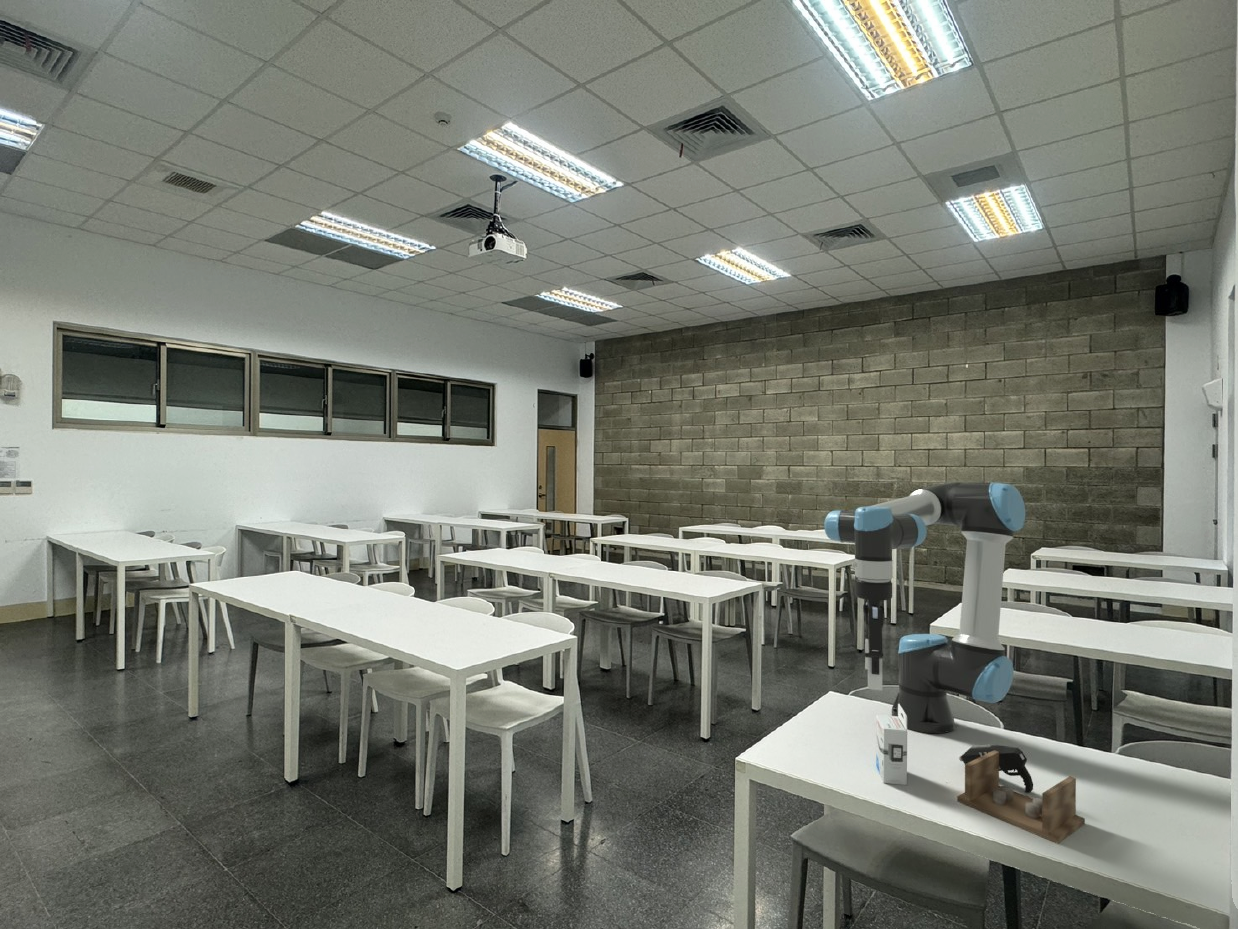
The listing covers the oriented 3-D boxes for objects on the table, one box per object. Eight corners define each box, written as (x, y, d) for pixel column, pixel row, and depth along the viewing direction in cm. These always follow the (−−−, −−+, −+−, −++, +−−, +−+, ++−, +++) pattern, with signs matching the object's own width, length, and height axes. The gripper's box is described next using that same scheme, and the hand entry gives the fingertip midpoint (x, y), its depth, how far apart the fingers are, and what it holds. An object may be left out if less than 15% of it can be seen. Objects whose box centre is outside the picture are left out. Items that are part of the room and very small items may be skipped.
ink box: (875, 766, 147) (875, 700, 147) (898, 768, 146) (899, 702, 146) (882, 783, 138) (883, 714, 138) (907, 786, 137) (908, 716, 137)
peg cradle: (986, 785, 138) (986, 747, 138) (1084, 823, 123) (1084, 781, 123) (957, 801, 131) (957, 761, 131) (1057, 843, 116) (1057, 799, 116)
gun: (983, 787, 146) (957, 744, 149) (1048, 787, 133) (1018, 740, 135) (976, 794, 145) (950, 751, 147) (1041, 794, 131) (1011, 747, 134)
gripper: (853, 569, 151) (853, 660, 151) (856, 588, 128) (856, 696, 127) (888, 571, 149) (888, 663, 149) (897, 590, 125) (897, 700, 125)
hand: (873, 679), depth 138 cm, fingers open, 13 cm apart
